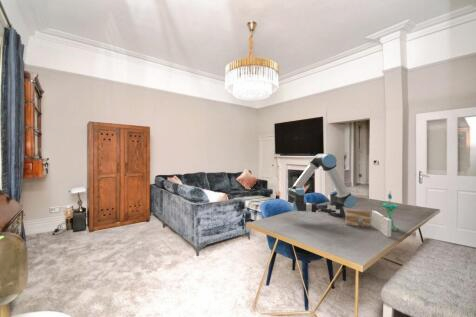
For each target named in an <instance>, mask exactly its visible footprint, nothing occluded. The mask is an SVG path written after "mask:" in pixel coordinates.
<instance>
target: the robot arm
mask: <svg viewBox="0 0 476 317" xmlns="http://www.w3.org/2000/svg"><path fill="white" fill-rule="evenodd" d="M320 167H321V168H322V171H324V172H326V174H327V176H328V178H329V180H330V181H331V184H332V185H333V187H334V189H335V190H331V191H330V193H329V194H330V196H329V200H330V201H329V205H328V204H316V202H314V203H313V202H312V203H311V202H305V189H304V188H303V187H304V186H305V184H307V182H308V180H309V179H310V178H311V177H312V175H313V174H314V173H315V171H317V170H318V169H319V168H320ZM286 192H287V195H288V196H290V197H292V198H294V201H293V202H292V203H291V204H292V206H291V207H292V211H293V212H305V213H317V212H319V213H326V214H328V215H330V216H333V217H346V210H345V208H347V209H353V208H354V207H355V206H356V204H357V202H358V201H357V197H356V196H355V195H353V194H352V193H351V191H350V190H348V189H347V187H346V185H345V183H344V181H343V179H342V177H341V175H340V173H339V171H338V169H337V157H336V156H335V155H334V154H331V153H317V154H316V155H314V156H313V158H311V160H310V161H309V162H308V166H307V167H306V168H305V169H304V171H303V172H302V173H301V174H300V176H299V178H297V179H296V181H295V182H294V184H293V185H292V187H288V189H287V191H286ZM344 207H345V208H344Z"/></svg>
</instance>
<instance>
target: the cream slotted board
mask: <svg viewBox="0 0 476 317" xmlns="http://www.w3.org/2000/svg"><path fill="white" fill-rule="evenodd" d="M371 226H373V228H375V229H377V231H379V232H380V233H382V234H383V235H384V236H385V237H387V238H391V237H392V230H391V220H390V219H388V217H385V215H383V214H381V213H380V212H378V211H376V210H371Z"/></svg>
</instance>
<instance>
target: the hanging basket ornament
mask: <svg viewBox="0 0 476 317" xmlns="http://www.w3.org/2000/svg"><path fill="white" fill-rule="evenodd" d="M392 196H393V195H392V191H391V190H389V193H388V194H387V198H388V201H387V202H386V203H382V204H381V207H382V208H385V211H386V212H385V213H386V214H387V218H388V219H390V220H391V232H392V231H397V230H399V227H398V226H396V225H395V223H394V220H393V217H392V216H393V214H394V212H395V210H396V209H398V208H399V205H397V204H394V203H392V201H391V199H393V197H392Z"/></svg>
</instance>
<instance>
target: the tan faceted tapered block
mask: <svg viewBox="0 0 476 317" xmlns="http://www.w3.org/2000/svg"><path fill="white" fill-rule="evenodd" d="M359 219H362V220H361V222H362V224H361V226H363V227H371V211H370V210H360V209H359V210H357V209H345V221H344V222H345V225H346V226H359Z"/></svg>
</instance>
